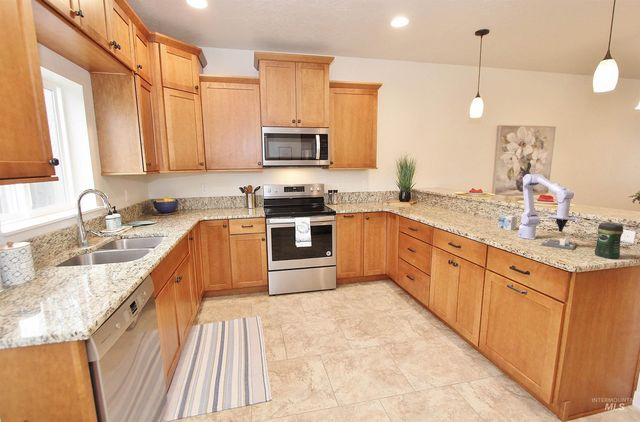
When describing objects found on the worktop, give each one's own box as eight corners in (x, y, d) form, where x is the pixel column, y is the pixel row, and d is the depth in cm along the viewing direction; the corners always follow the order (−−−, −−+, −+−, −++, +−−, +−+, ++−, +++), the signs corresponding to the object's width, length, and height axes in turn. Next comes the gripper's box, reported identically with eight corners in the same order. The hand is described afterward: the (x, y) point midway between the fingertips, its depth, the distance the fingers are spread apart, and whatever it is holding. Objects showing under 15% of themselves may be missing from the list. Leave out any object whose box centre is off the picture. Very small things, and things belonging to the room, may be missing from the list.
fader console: (541, 245, 184) (541, 242, 184) (547, 240, 196) (547, 237, 196) (572, 250, 173) (573, 247, 173) (576, 244, 186) (577, 241, 185)
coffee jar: (622, 259, 157) (628, 225, 154) (609, 259, 156) (615, 225, 153) (603, 253, 166) (607, 221, 163) (591, 254, 165) (595, 222, 162)
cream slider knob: (563, 242, 185) (564, 237, 185) (564, 242, 187) (565, 236, 187) (568, 243, 183) (569, 237, 183) (569, 242, 185) (570, 237, 185)
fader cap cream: (559, 244, 180) (560, 239, 180) (560, 243, 182) (560, 238, 182) (564, 245, 179) (565, 239, 178) (565, 244, 181) (565, 239, 180)
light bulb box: (497, 228, 237) (498, 214, 235) (502, 227, 239) (504, 214, 238) (510, 230, 227) (512, 216, 225) (516, 229, 230) (517, 216, 228)
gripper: (547, 209, 181) (544, 230, 183) (578, 211, 171) (575, 234, 173) (549, 208, 186) (547, 228, 188) (579, 210, 176) (576, 232, 178)
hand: (560, 231), depth 181 cm, fingers closed
